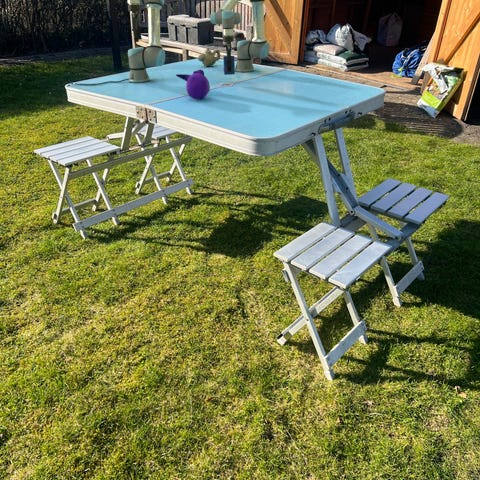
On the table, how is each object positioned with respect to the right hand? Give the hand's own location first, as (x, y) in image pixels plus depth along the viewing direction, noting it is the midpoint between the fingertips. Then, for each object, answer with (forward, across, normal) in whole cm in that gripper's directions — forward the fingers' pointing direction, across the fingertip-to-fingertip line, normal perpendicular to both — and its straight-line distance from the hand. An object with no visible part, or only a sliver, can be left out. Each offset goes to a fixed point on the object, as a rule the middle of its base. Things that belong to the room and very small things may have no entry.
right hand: (229, 70), depth 322 cm
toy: (+8, +40, -25) cm, 48 cm away
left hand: (-23, +15, -60) cm, 66 cm away
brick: (+2, 0, 0) cm, 2 cm away
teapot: (+9, -75, -13) cm, 77 cm away
